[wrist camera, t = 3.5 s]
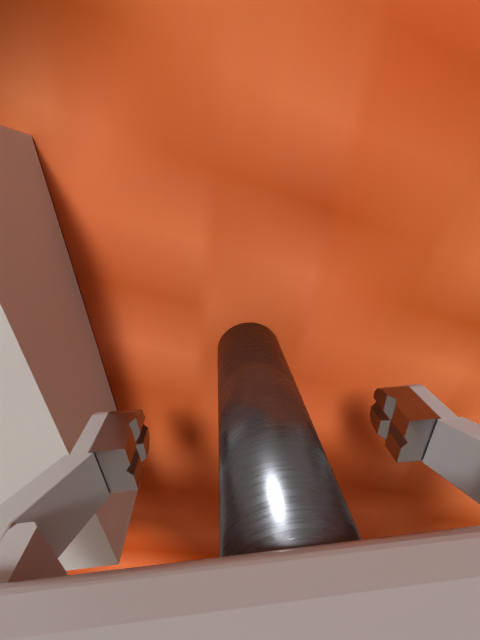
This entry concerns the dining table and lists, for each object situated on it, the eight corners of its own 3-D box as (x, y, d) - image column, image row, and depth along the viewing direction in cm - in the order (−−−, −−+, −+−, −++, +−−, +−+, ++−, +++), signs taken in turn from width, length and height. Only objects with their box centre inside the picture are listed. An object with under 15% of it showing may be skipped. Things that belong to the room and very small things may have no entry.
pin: (279, 320, 13) (393, 549, 4) (277, 372, 14) (365, 624, 6) (215, 325, 12) (213, 572, 4) (220, 377, 14) (225, 644, 6)
